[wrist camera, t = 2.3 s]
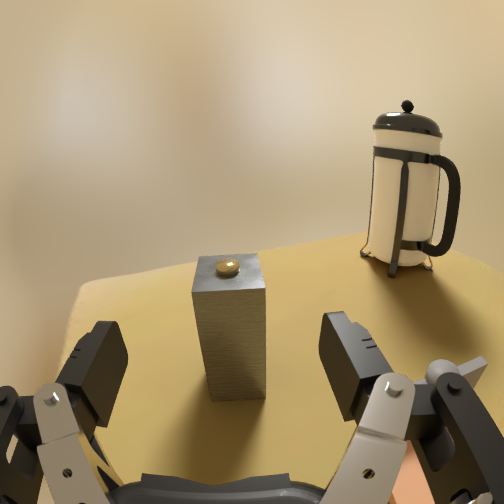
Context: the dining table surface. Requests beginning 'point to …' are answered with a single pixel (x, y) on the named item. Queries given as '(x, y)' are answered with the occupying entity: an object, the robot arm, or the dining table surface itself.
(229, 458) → the dining table surface
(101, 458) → the robot arm
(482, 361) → the dock
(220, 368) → the block
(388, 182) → the coffee press
